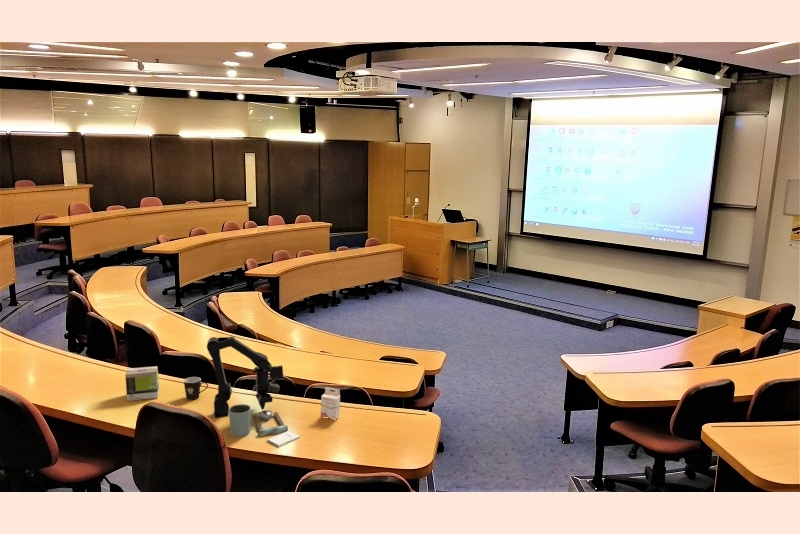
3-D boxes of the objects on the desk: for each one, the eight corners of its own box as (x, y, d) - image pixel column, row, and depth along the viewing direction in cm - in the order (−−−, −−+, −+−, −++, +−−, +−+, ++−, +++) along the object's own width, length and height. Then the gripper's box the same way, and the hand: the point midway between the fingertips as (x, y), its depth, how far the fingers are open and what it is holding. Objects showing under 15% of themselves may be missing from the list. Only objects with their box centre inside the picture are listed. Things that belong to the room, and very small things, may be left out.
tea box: (159, 391, 309) (158, 365, 306) (157, 398, 300) (156, 372, 297) (129, 393, 304) (127, 367, 302) (126, 401, 295) (125, 374, 292)
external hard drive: (267, 442, 258) (288, 433, 267) (278, 448, 253) (300, 438, 262) (267, 439, 258) (288, 430, 267) (278, 445, 252) (300, 435, 262)
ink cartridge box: (320, 418, 283) (320, 390, 281) (324, 414, 288) (324, 386, 286) (336, 420, 281) (336, 392, 279) (340, 416, 286) (340, 389, 283)
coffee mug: (180, 399, 300) (179, 381, 298) (192, 393, 308) (191, 375, 306) (198, 403, 295) (197, 385, 294) (209, 397, 303) (208, 379, 302)
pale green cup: (239, 439, 258) (238, 415, 256) (224, 433, 263) (223, 409, 261) (255, 431, 267) (255, 407, 265) (240, 425, 272) (240, 402, 270)
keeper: (261, 421, 277) (261, 416, 277) (258, 416, 282) (258, 411, 282) (273, 420, 280) (273, 414, 279) (270, 415, 285) (270, 409, 284)
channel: (259, 436, 262) (259, 431, 262) (252, 418, 280) (251, 413, 280) (287, 431, 268) (287, 426, 267) (278, 414, 285) (278, 409, 285)
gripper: (282, 384, 281) (282, 414, 283) (274, 371, 297) (274, 400, 300) (259, 387, 276) (260, 417, 279) (252, 374, 293) (253, 402, 295)
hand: (262, 409), depth 288 cm, fingers closed
